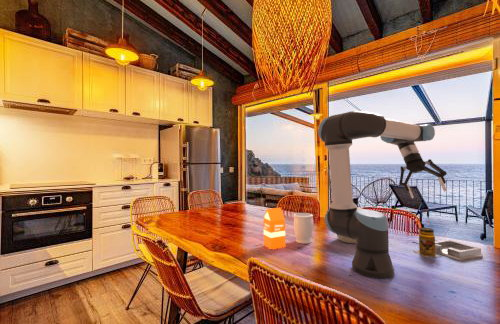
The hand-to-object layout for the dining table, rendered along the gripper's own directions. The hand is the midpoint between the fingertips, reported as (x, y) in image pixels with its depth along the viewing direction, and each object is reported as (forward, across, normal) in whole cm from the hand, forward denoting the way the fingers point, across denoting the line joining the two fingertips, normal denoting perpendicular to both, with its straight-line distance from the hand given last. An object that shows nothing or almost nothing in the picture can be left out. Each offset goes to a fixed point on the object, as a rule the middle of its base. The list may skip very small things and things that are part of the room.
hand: (428, 194), depth 118 cm
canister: (+13, +42, -12) cm, 45 cm away
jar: (+11, +65, 0) cm, 66 cm away
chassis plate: (+26, -2, -13) cm, 29 cm away
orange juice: (+13, +77, +13) cm, 79 cm away
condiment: (+25, +10, -7) cm, 28 cm away
